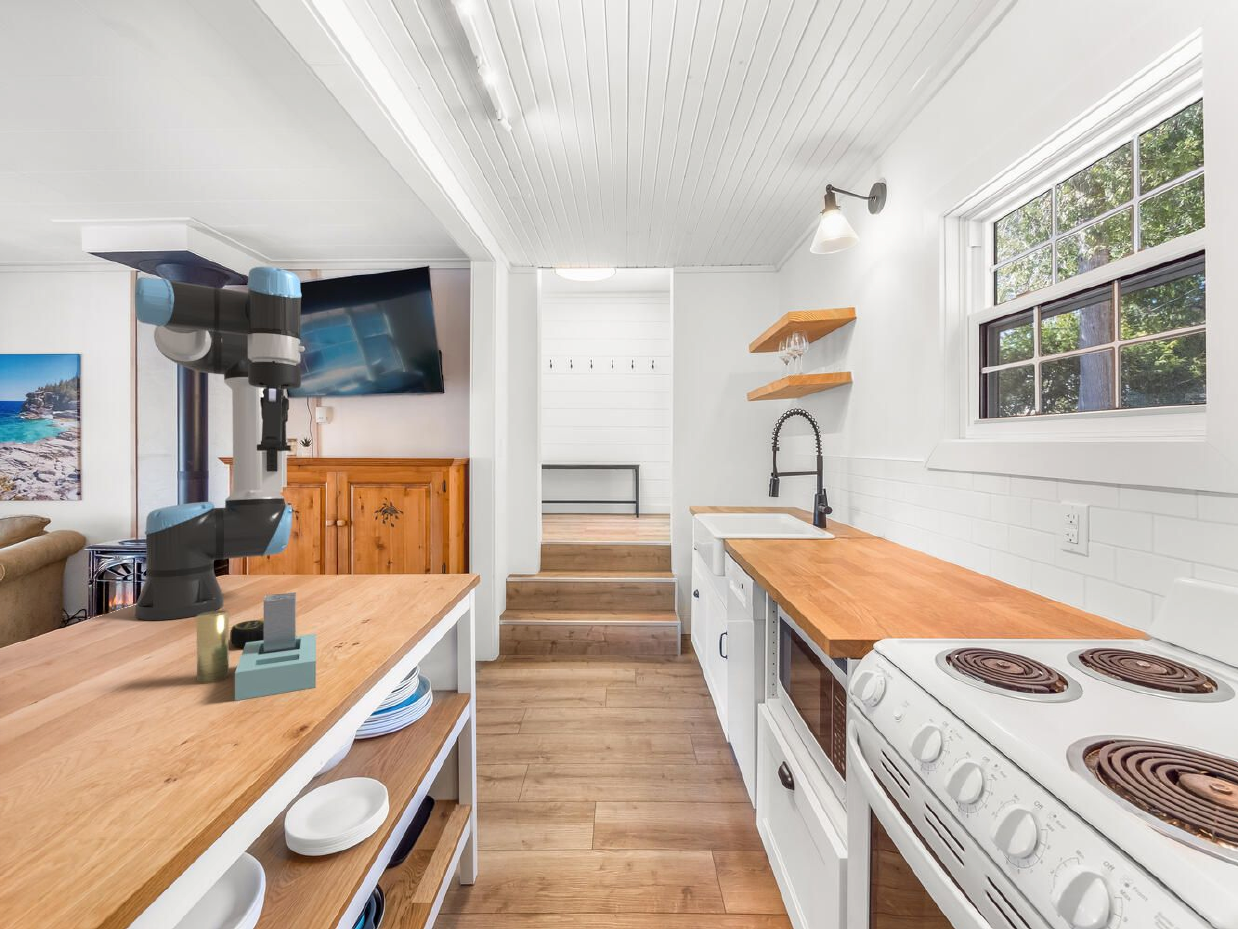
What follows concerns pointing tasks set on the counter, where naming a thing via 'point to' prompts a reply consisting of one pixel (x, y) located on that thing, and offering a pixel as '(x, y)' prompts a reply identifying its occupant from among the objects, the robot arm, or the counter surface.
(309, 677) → the socket block
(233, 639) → the tape measure
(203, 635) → the round bit
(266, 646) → the square bit
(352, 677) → the counter surface
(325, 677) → the counter surface
